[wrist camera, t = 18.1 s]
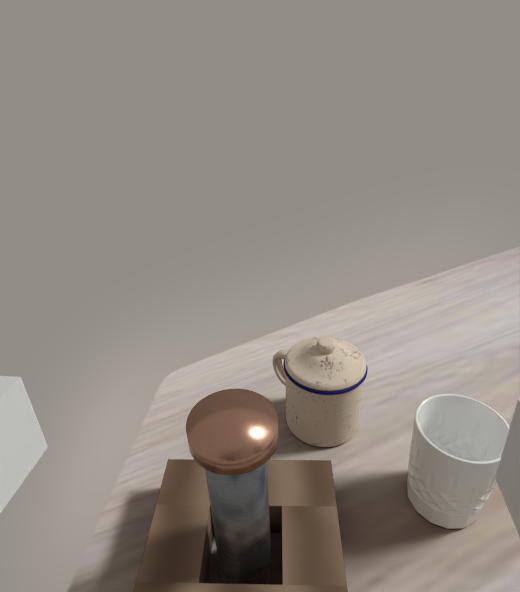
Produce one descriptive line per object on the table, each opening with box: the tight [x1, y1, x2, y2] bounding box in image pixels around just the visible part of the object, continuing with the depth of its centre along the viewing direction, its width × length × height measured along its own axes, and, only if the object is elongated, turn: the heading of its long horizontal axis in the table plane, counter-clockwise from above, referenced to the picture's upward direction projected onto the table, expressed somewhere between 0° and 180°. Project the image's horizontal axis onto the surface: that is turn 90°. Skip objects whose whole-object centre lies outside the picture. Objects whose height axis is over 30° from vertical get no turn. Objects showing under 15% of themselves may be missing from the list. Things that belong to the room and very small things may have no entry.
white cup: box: [407, 394, 510, 529], centre depth 40 cm, size 8×8×10 cm
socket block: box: [134, 459, 348, 592], centre depth 36 cm, size 16×16×4 cm
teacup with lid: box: [273, 337, 367, 447], centre depth 50 cm, size 12×9×12 cm
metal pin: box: [186, 389, 278, 585], centre depth 33 cm, size 6×6×18 cm
